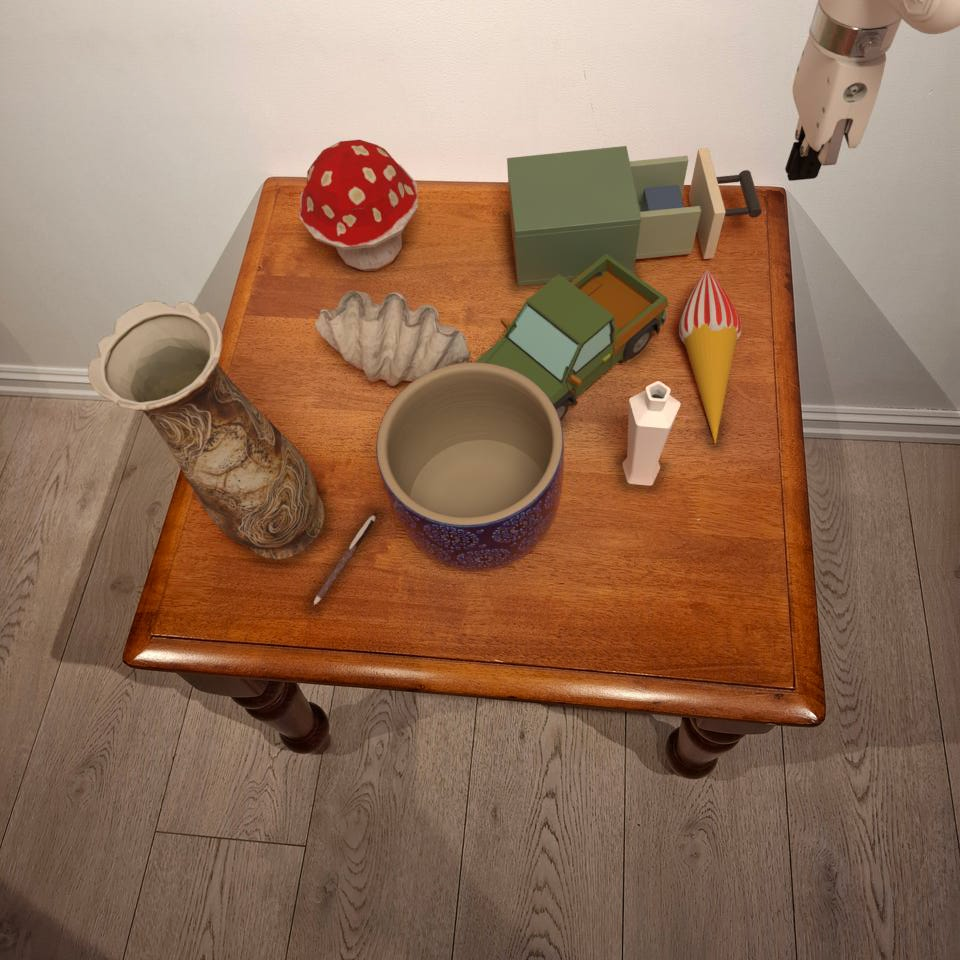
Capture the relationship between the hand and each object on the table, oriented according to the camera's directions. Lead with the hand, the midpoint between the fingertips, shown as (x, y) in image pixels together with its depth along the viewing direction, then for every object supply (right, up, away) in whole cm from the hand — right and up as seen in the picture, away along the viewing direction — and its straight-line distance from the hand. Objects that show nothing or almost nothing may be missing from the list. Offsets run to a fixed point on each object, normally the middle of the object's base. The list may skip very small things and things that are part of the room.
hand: (800, 174), depth 94 cm
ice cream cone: (-11, -22, -1) cm, 24 cm away
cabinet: (-25, -6, +7) cm, 27 cm away
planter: (-36, -37, -7) cm, 52 cm away
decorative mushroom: (-49, -6, +9) cm, 50 cm away
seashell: (-45, -21, +2) cm, 50 cm away
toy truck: (-26, -21, 0) cm, 33 cm away
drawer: (-13, -4, +6) cm, 15 cm away
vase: (-57, -38, -6) cm, 69 cm away
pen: (-49, -42, -8) cm, 65 cm away
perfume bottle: (-19, -33, -6) cm, 39 cm away
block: (-14, -4, +5) cm, 16 cm away
